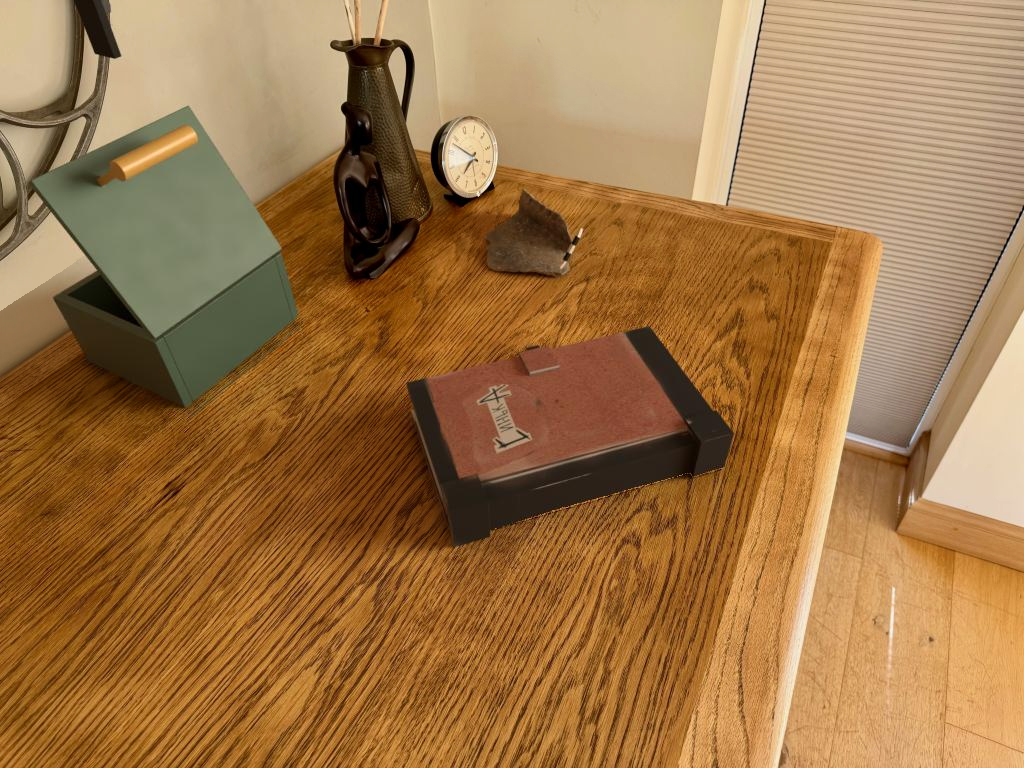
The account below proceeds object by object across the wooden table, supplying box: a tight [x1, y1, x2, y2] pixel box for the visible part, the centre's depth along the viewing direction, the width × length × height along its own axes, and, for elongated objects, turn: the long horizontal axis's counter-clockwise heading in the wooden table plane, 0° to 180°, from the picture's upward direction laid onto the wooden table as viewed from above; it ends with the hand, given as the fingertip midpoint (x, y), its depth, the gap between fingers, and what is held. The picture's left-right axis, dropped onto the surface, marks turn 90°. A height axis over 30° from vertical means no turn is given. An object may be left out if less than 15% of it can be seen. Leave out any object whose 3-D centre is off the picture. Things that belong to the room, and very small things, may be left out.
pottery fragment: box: [485, 188, 584, 278], centre depth 95 cm, size 18×11×5 cm
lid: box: [28, 105, 283, 339], centre depth 67 cm, size 16×17×6 cm
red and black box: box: [405, 325, 735, 548], centre depth 69 cm, size 26×18×5 cm
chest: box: [52, 251, 302, 418], centre depth 79 cm, size 15×17×10 cm
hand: (42, 81), depth 62 cm, fingers open, 13 cm apart
